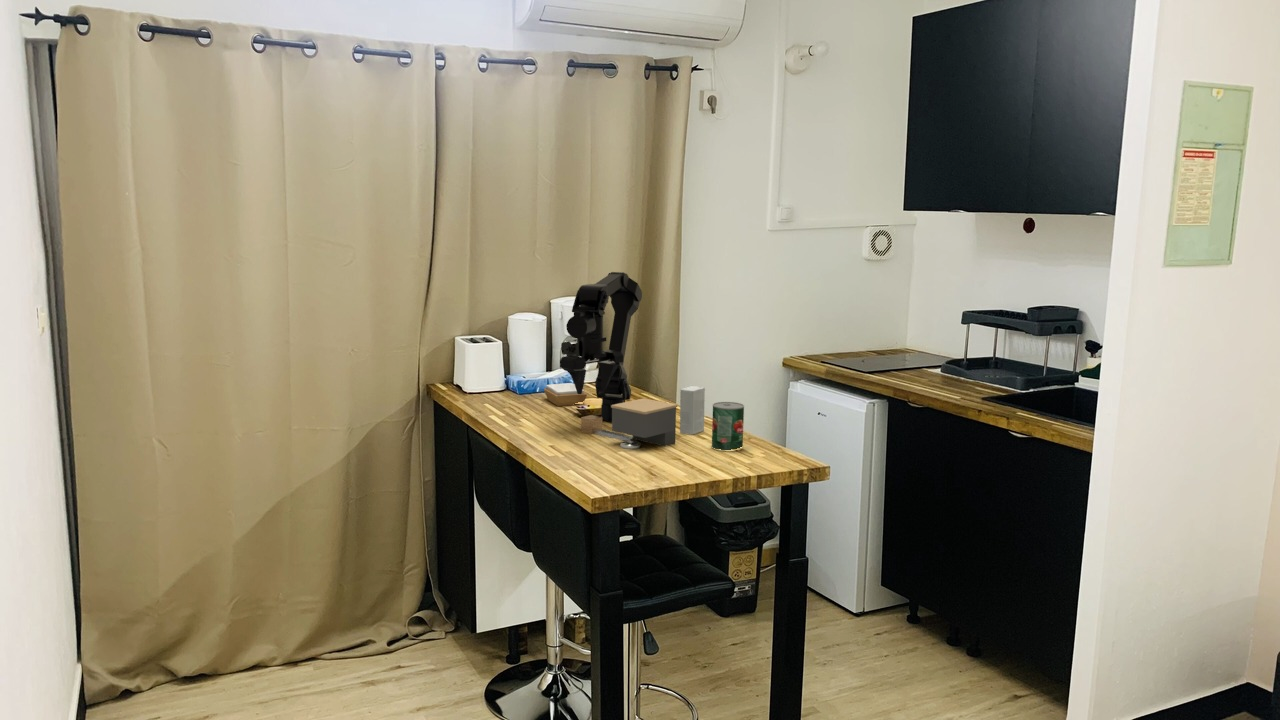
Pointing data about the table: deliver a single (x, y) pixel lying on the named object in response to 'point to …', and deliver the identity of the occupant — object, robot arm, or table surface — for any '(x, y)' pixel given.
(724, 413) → the canned tomato
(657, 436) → the cabinet
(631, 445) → the token
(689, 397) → the skincare box
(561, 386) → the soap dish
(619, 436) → the brown block with rod
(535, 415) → the table surface
